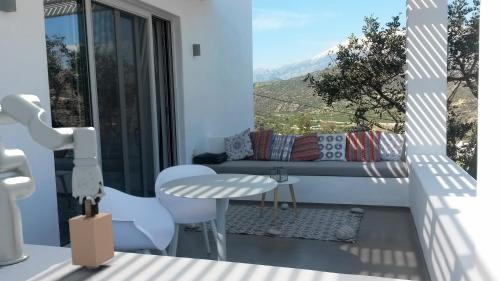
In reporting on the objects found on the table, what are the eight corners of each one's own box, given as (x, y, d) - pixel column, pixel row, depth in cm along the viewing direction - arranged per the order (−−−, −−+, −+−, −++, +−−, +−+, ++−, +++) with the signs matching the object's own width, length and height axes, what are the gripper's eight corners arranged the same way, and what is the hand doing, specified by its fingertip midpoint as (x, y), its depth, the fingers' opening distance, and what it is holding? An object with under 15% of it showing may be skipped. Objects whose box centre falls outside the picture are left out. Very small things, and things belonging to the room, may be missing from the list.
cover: (72, 264, 152) (67, 202, 150) (91, 255, 161) (86, 196, 160) (96, 266, 149) (91, 202, 147) (114, 257, 158) (110, 196, 157)
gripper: (59, 164, 152) (63, 216, 153) (99, 164, 146) (103, 218, 148) (74, 161, 159) (78, 211, 160) (113, 161, 154) (116, 213, 155)
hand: (90, 214), depth 154 cm, fingers closed on cover, 3 cm apart
